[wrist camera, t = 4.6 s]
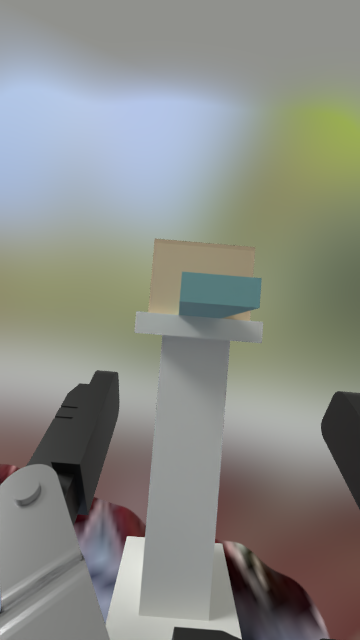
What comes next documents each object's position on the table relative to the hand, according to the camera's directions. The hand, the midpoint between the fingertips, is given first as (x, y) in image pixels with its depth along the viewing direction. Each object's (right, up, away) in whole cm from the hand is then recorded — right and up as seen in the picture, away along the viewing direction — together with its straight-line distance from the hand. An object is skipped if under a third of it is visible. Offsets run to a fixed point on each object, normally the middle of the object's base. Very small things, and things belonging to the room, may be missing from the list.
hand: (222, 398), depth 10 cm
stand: (-2, -29, +20) cm, 35 cm away
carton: (0, +3, +15) cm, 15 cm away
